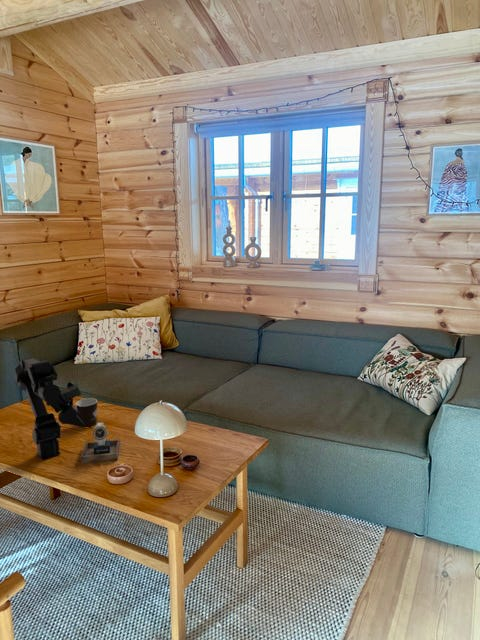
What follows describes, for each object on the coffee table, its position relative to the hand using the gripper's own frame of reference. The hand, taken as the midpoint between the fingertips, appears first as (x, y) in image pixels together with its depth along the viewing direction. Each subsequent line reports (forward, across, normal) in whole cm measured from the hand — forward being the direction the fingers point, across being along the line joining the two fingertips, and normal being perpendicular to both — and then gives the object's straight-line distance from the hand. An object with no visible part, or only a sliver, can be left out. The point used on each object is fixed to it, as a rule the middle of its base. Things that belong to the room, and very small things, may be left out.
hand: (82, 421), depth 171 cm
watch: (+13, -4, +3) cm, 14 cm away
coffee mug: (+14, +25, +3) cm, 29 cm away
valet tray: (+13, -4, +4) cm, 14 cm away
